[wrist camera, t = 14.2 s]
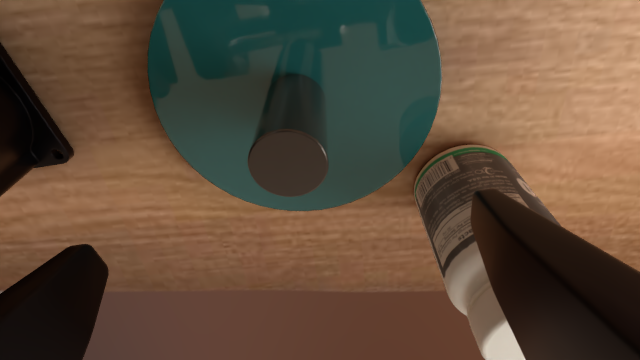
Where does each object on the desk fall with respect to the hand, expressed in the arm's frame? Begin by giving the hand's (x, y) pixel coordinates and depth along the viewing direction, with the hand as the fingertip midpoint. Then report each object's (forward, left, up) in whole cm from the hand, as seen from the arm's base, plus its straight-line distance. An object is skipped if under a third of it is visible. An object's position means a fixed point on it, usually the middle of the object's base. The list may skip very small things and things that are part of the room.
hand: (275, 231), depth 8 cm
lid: (0, 0, -8) cm, 8 cm away
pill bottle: (-6, -7, -9) cm, 13 cm away
